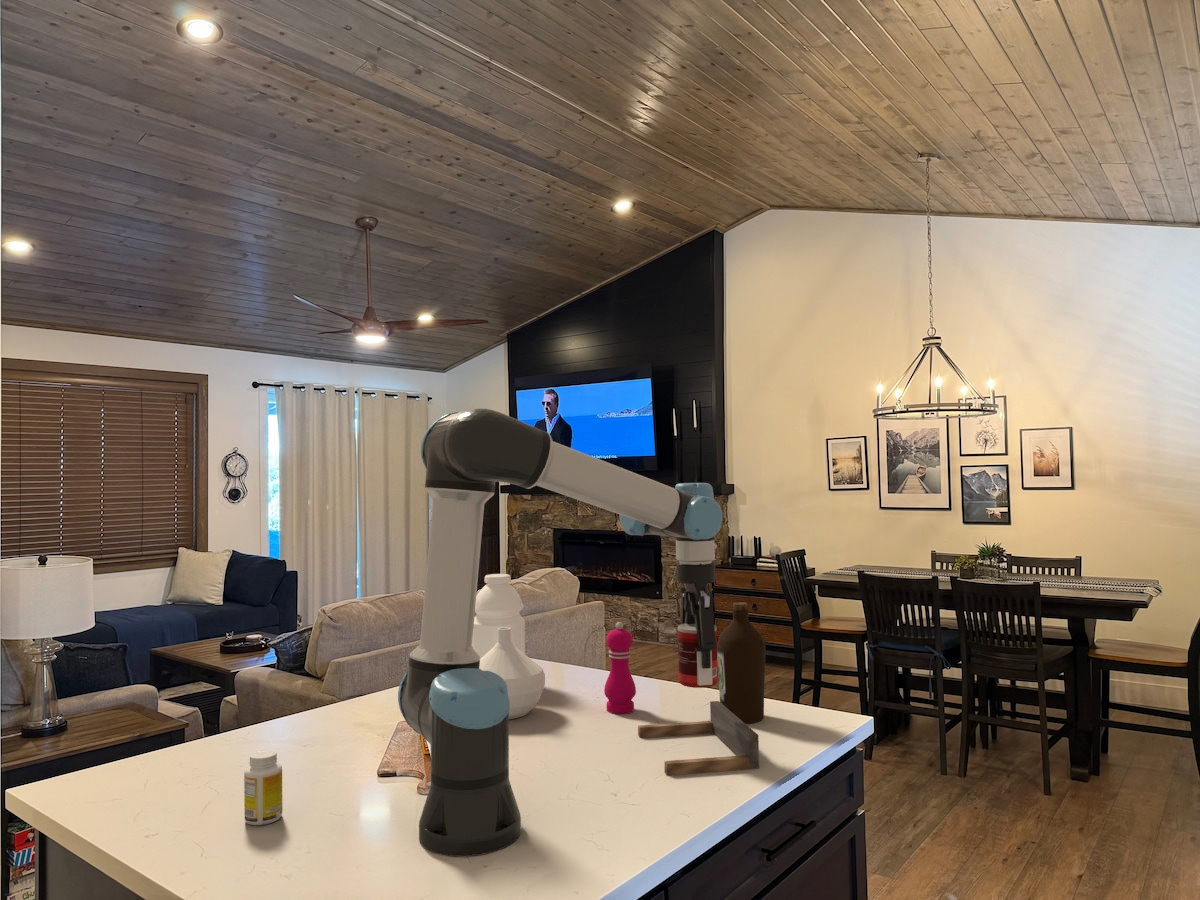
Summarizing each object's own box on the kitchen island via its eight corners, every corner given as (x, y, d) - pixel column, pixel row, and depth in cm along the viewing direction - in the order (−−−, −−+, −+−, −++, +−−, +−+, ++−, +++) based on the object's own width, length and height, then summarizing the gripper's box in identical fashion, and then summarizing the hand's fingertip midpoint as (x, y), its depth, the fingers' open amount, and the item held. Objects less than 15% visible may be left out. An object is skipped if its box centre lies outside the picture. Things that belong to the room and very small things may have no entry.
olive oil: (765, 711, 187) (763, 599, 188) (768, 725, 177) (766, 607, 177) (717, 709, 188) (715, 599, 189) (717, 724, 178) (716, 606, 179)
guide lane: (666, 775, 148) (666, 741, 148) (638, 735, 171) (637, 705, 171) (758, 768, 151) (758, 734, 151) (718, 729, 174) (718, 701, 174)
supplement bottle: (286, 811, 134) (286, 747, 134) (276, 825, 128) (276, 759, 129) (250, 813, 133) (250, 748, 134) (239, 827, 128) (239, 760, 128)
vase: (552, 703, 195) (552, 621, 196) (535, 727, 177) (534, 637, 177) (477, 701, 198) (476, 620, 198) (452, 724, 180) (452, 635, 180)
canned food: (717, 677, 165) (716, 622, 166) (719, 688, 157) (717, 630, 158) (678, 677, 166) (677, 622, 166) (678, 688, 158) (677, 630, 158)
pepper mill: (600, 713, 187) (599, 624, 187) (609, 704, 193) (608, 618, 194) (631, 715, 184) (630, 625, 185) (639, 707, 191) (638, 619, 192)
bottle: (476, 694, 204) (475, 579, 205) (466, 680, 217) (465, 573, 218) (531, 688, 209) (530, 576, 209) (518, 676, 222) (518, 571, 223)
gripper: (732, 567, 153) (734, 691, 152) (698, 555, 173) (700, 665, 173) (692, 568, 151) (695, 694, 151) (663, 557, 172) (665, 667, 171)
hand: (698, 678), depth 162 cm, fingers closed on canned food, 8 cm apart
